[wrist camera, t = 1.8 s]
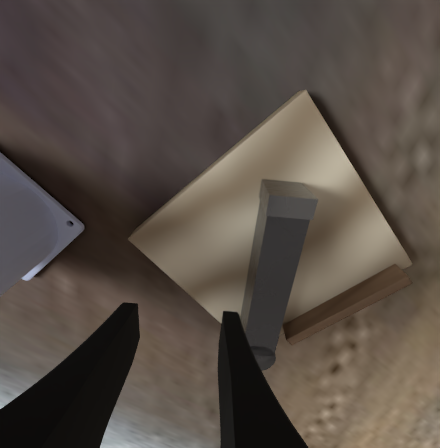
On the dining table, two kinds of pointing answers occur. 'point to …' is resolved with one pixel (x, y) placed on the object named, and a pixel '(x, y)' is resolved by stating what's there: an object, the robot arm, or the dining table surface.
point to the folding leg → (274, 263)
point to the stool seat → (247, 216)
